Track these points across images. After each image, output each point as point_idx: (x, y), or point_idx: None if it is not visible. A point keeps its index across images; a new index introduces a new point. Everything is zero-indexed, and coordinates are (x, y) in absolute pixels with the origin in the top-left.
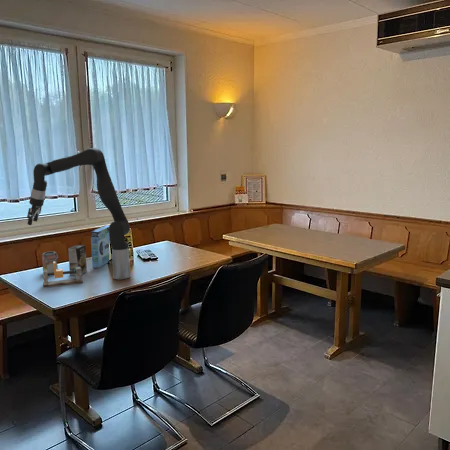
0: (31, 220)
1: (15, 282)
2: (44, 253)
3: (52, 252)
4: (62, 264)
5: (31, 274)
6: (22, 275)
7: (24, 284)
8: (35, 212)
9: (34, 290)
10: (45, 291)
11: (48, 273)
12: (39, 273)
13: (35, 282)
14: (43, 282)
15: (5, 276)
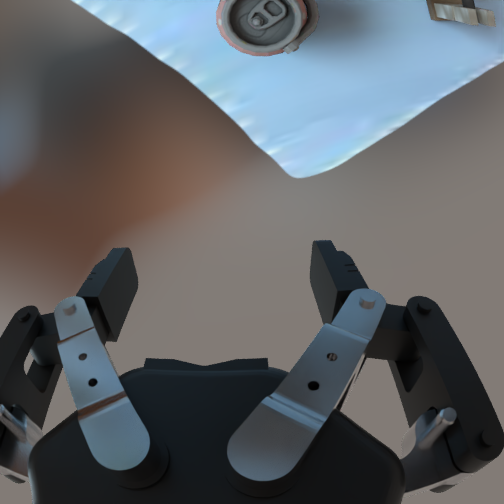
0: (349, 284)
1: (389, 119)
2: (265, 45)
3: (231, 6)
4: (126, 19)
5: (290, 87)
6: (301, 118)
7: (419, 84)
8: (341, 394)
9: (481, 47)
10: (494, 16)
11: (473, 4)
12: (276, 58)
13: (404, 48)
14: (437, 19)
15: (307, 174)
